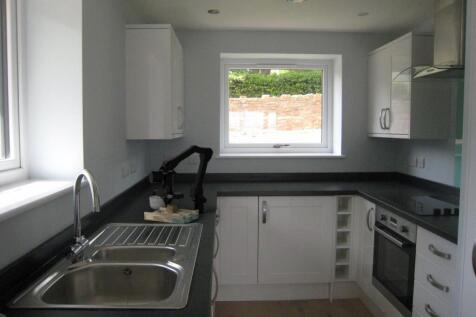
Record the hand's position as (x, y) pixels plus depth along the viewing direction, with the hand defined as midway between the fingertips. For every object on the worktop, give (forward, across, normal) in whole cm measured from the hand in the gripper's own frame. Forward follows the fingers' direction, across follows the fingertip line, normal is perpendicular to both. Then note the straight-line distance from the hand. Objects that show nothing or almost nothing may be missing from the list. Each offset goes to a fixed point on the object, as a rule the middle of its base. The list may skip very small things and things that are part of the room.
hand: (167, 209), depth 214 cm
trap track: (+4, +5, -3) cm, 7 cm away
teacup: (+5, -17, +16) cm, 24 cm away
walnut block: (+1, +2, 0) cm, 3 cm away
